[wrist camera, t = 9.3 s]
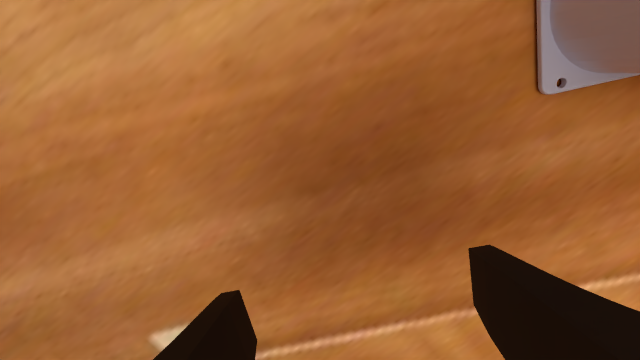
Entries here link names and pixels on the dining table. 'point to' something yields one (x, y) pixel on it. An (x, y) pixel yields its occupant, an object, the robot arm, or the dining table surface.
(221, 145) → the dining table surface
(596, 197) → the dining table surface
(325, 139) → the dining table surface
